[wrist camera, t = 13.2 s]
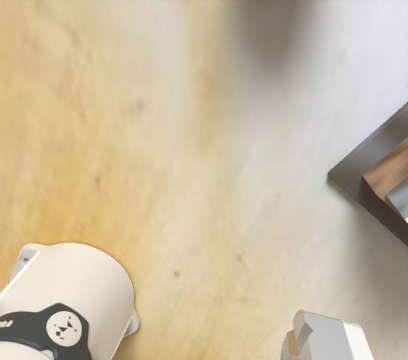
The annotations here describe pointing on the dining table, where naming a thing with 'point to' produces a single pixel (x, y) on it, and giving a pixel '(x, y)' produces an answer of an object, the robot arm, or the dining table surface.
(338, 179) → the stacked open-top box
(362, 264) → the dining table surface
